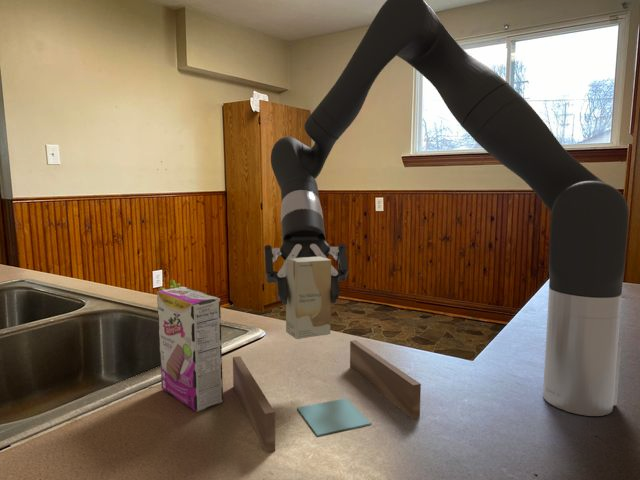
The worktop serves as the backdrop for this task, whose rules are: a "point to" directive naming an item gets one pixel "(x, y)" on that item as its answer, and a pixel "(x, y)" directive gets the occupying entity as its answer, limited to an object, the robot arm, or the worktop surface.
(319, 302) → the skincare box
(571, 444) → the worktop surface
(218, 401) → the candy bar box
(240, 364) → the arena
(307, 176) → the robot arm
